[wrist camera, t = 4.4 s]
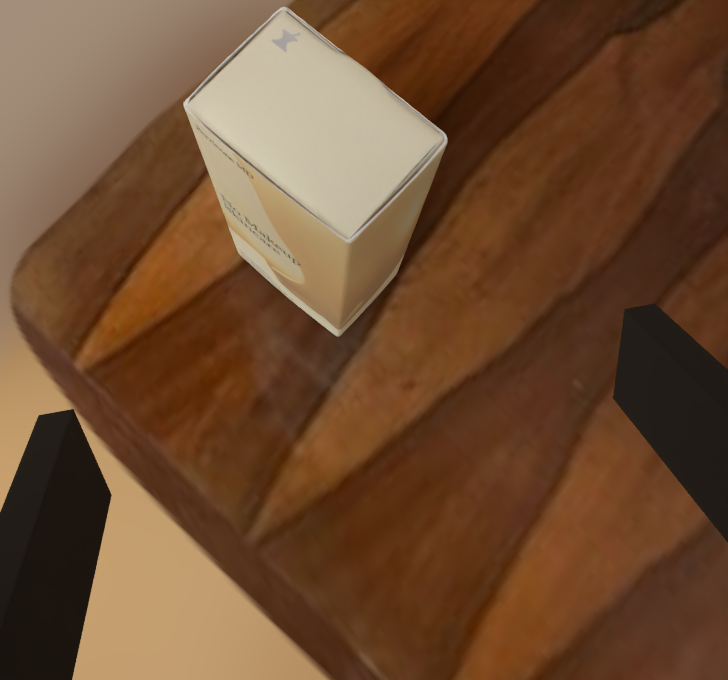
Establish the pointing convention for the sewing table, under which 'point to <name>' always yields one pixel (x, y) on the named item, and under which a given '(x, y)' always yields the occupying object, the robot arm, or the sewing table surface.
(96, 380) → the sewing table surface
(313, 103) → the cosmetic box
